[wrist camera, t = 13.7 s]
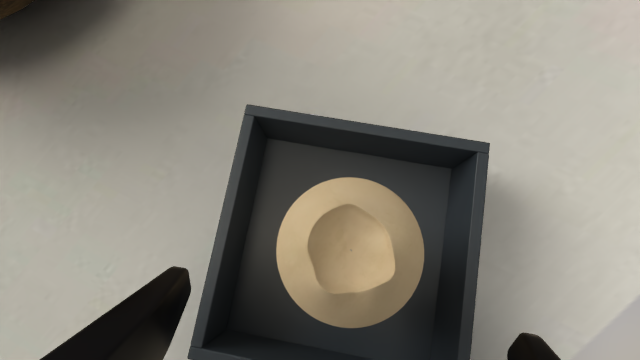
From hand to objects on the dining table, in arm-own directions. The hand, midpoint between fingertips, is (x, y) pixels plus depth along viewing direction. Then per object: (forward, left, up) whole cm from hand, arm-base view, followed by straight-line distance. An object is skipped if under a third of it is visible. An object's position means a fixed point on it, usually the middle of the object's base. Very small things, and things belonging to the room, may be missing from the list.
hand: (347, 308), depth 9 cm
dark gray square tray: (+1, -1, -12) cm, 12 cm away
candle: (+1, -1, -12) cm, 12 cm away
